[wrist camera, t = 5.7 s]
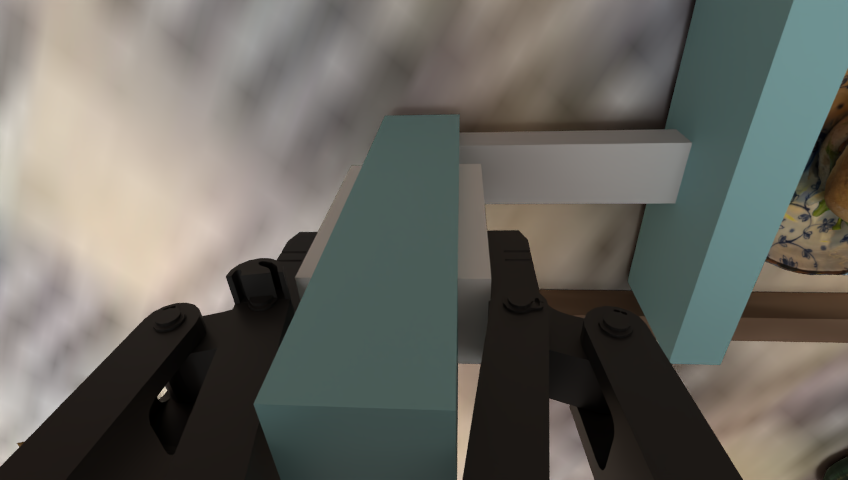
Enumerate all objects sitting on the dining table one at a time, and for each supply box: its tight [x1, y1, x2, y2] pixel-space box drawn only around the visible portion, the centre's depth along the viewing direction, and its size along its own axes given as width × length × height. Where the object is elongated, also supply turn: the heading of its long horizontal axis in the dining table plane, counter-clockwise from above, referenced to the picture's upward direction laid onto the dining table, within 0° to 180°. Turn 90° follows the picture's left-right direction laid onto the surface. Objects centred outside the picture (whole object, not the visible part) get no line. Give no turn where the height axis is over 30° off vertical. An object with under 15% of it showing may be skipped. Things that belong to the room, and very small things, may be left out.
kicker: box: [254, 0, 848, 480], centre depth 14 cm, size 14×14×15 cm
